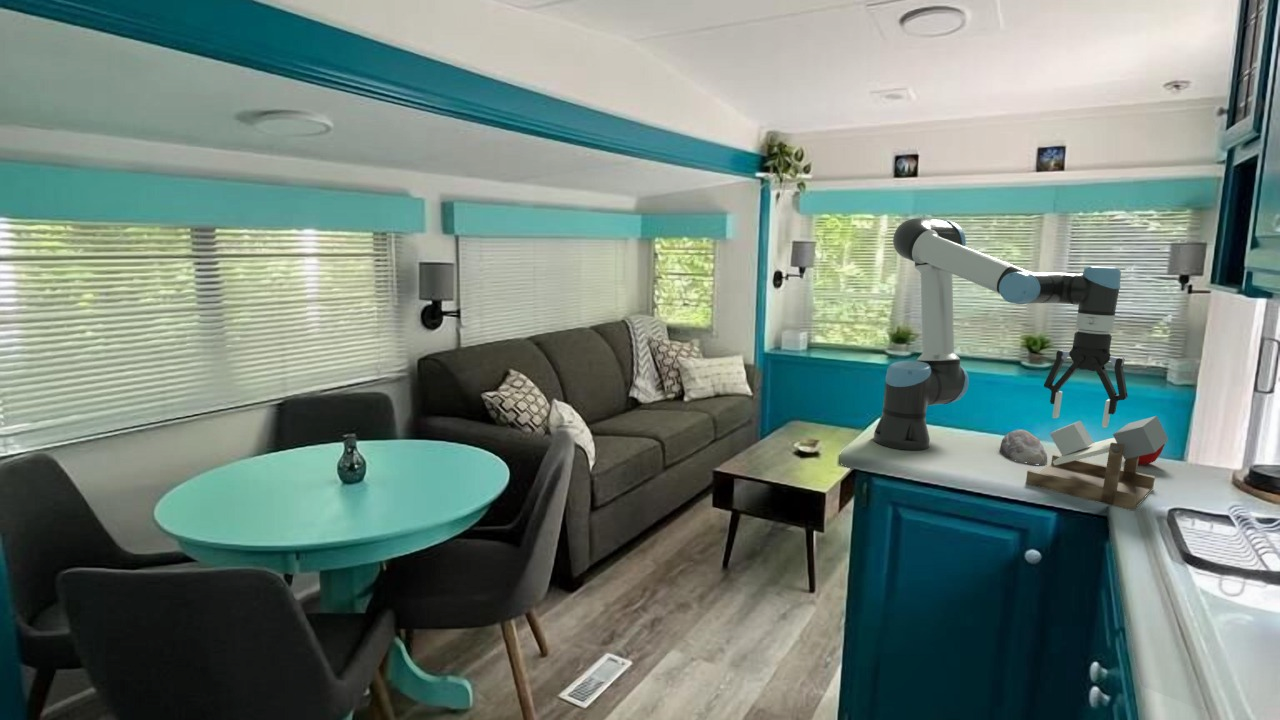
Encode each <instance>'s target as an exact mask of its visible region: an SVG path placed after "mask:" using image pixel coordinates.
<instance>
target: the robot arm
mask: <svg viewBox="0 0 1280 720" xmlns="http://www.w3.org/2000/svg"><path fill="white" fill-rule="evenodd" d="M892 239H893V240H892V243H893V248H894V250H895V251H896V252H897V253H898V255H899V256H901V257H902V258H905V259H907V260H910V261H911V262H914V268H915V269H916V271H918V272H919V273H920V295H921V296H920V298H921V300H920V301H921V302H920V303H921V341H922V344H921V348H922V353H921V354H920V355H919V357H918V358H917V359H916V360H909V361H907V360H902V361H896V362H892V363H891V364H890V365H889V366H888V367H887V370H886V375H885V379H884V381H885V383H884V391H883V392H884V393H883V394H884V395H883V403H882V404H883V405H882V414H881V416H880V419H879V420H878V423H877V426H876V427H875V430H874V432H873V440H874V442H875V443H877V444H879V445H881V446H884V447H887V448H888V447H889V448H891V449H892V448H893V449H898V450H905V451H920V450H927V449H929V446H930V435H929V431H928V426H927V421H926V418H927V417H926V415H927V409H928V408H927V407H928V406H935V405H948V404H951V403H955V402H957V401H959V400H961V398H963V397H964V396H965V394H966V393H967V390H968V388H969V384H970V383H969V382H970V381H969V374H968V372H967V371H966V370H965V368H964V366H962V365H961V358H960V357H959V356H958V355H957V354H956V353H955V340H954V339H955V338H954V337H955V333H954V296H953V295H954V294H953V293H954V291H953V287H954V286H953V275H954V276H957V277H958V278H961V279H964V280H966V281H969V282H971V283H973V284H975V285H978V286H981V287H983V288H985V289H987V290H990V291H992V292H995V293H997V294H998V295H1000V296H1001V298H1002V299H1003V300H1004V301H1006V302H1007V303H1009V304H1016V305H1027V304H1061V305H1062V304H1064V305H1065V304H1066V305H1073V306H1074V305H1075V306H1077V307H1078V309H1077V313H1076V314H1077V315H1076V320H1075V321H1076V322H1075V328H1076V331H1075V332H1074V336H1073V341H1072V347H1071V350H1064V349H1059V350H1057V351H1056V353H1055V361H1054V363H1053V365H1052V367H1051V369H1050V371H1049V374H1048V375H1047V378H1046V380H1044V383H1043V388H1045V389H1048V390H1050V401H1049V403H1050V405H1053V410H1052V419H1057V418H1059V417H1060V411H1061V406H1062V399H1063V391H1061V388H1062V387H1063V386H1064V385H1065V384H1066V383H1067V382H1068V380H1070V378H1071V377H1072V376H1073V375H1074V374H1075V372H1077V371H1078V369H1079V370H1087V371H1090V372H1095V373H1096V374H1097V375H1098V377H1099V379H1100V381H1101V383H1102V386H1103V387H1104V390H1105V392H1106V394H1107V395H1108V399H1107V400H1105V404H1104V411H1103V414H1102V415H1103V416H1102V421H1101V428H1104V429H1106V428H1107V427H1109V423H1110V422H1109V421H1110V418H1111V416H1110V415H1115V413H1116V411H1117V406H1118V401H1125V400H1126V399H1128V398H1129V397H1128V396H1129V395H1128V394H1129V393H1128V389H1127V384H1126V377H1125V371H1124V368H1123V367H1124V364H1125V358H1124V357H1115V356H1112V355H1111V352H1110V351H1111V343H1112V338H1113V335H1112V332H1113V331H1114V326H1115V321H1116V319H1115V318H1116V310H1117V304H1118V299H1119V298H1118V297H1119V293H1120V289H1121V278H1122V277H1121V274H1122V272H1121V269H1119V268H1118V267H1112V266H1111V267H1109V266H1092V265H1091V266H1085V268H1084V269H1083V271H1082V273H1069V272H1055V271H1039V272H1037V271H1030V270H1026V269H1024V268H1021V267H1018V266H1016V265H1013V264H1011V263H1008V262H1007V261H1003V260H1000V259H998V258H995V257H993V256H991V255H987V254H985V253H983V252H980V251H978V250H974V249H972V248H969V247H967V246H966V244H967V243H966V241H967V239H966V235H965V232H964V230H963V229H962V227H961V226H960V225H959V224H957V223H956V222H955V221H954V222H953V221H949V220H946V219H933V218H932V219H931V218H920V217H919V218H917V217H916V218H911V219H907V220H905V221H904V222H902V223H901V224H899V226H898V227H897V228H896V229H895V232H894V234H893V237H892ZM1068 357H1070V359H1071V360H1072V364H1071V365H1070V367H1068V369H1067V370H1066V371H1065V372H1064V374H1062V376H1061V377H1060V378H1059V379H1058V380H1057V381H1056V382H1055V379H1056V378H1057V375H1058V374H1059V371H1060V370H1061V367H1062V366H1063V363H1064V361H1065V360H1067V359H1068ZM1109 362H1111V366H1112V367H1114V374H1115V380H1116V387H1117V391H1118V394H1117V392H1116V389H1115V387H1114V384H1113V383H1112V381H1111V379H1110V376H1109V374H1108V372H1107V368H1106V364H1107V363H1109ZM1054 382H1055V384H1054Z"/></svg>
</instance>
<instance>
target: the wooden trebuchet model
mask: <svg viewBox="0 0 1280 720" xmlns="http://www.w3.org/2000/svg"><path fill="white" fill-rule="evenodd" d="M1123 451H1124V445H1122V444H1117V443H1110V448H1109V452H1108V454H1107V462H1106V465H1104V464H1101V463H1095V462H1090V461H1086V460H1083V459H1079V460H1075V461H1071V462H1067V463H1063V464H1059V465H1055V466H1054V463H1053V461H1054V460H1056V459H1057V458H1059V457H1060V456H1061V455H1059V454H1055V453H1053V454H1052V457H1051V462H1050V463H1051V464H1049V465H1048V466H1046V467H1044V468H1043V469H1042V470H1040V471H1037V470H1033V469H1028V470H1027V472H1026V479H1025V484H1026V483H1027V485H1029V486H1032V487H1033V486H1034V487H1037V488H1042V489H1046V490H1050V491H1053V492H1057V493H1061V494H1064V495H1066V494H1067V495H1069V496H1074V497H1077V498H1081V499H1087V500H1089V501H1093V502H1097V503H1102V504H1105V505H1109V506H1114V507H1118V508H1121V507H1122V509H1125V510H1128V509H1129V511H1133V512H1134V511H1135V509H1137V508H1138V506H1139V505H1140V504H1141V503H1142V502H1143V501H1144V499H1145V498H1146V497H1147V496H1148V495H1149V494H1150V493H1151V492H1152V491H1153V490H1154V484H1155V479H1156V476H1155V475H1150V474H1145V473H1141V472H1137V471H1138V460H1139V456H1138V457H1133V458H1129V459H1124V465H1123V468H1121V467H1122V462H1123V458H1124V457H1123ZM1152 489H1153V490H1152ZM1151 490H1152V491H1151ZM1150 491H1151V492H1150ZM1149 492H1150V493H1149ZM1148 493H1149V494H1148ZM1147 494H1148V495H1147ZM1146 495H1147V496H1146ZM1145 496H1146V497H1145ZM1142 500H1143V501H1142ZM1141 501H1142V502H1141ZM1140 502H1141V503H1140ZM1139 503H1140V504H1139ZM1138 504H1139V505H1138ZM1137 505H1138V506H1137Z"/></svg>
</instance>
